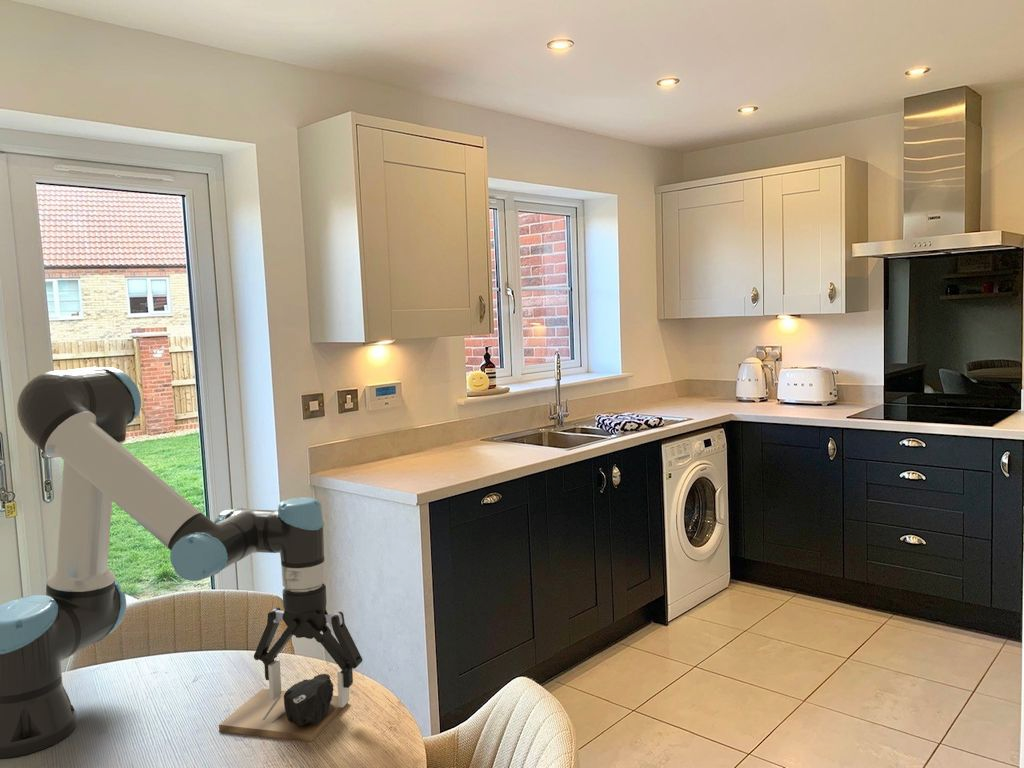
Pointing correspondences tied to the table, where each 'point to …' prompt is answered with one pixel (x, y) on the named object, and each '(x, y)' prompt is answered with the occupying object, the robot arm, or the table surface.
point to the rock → (308, 700)
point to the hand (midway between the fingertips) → (309, 700)
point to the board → (274, 719)
